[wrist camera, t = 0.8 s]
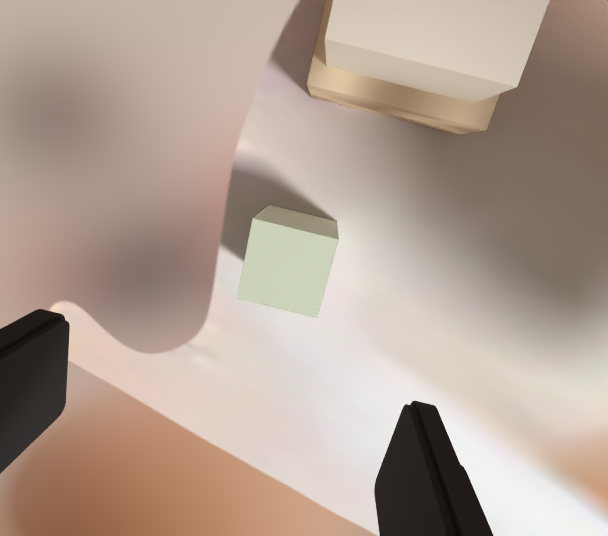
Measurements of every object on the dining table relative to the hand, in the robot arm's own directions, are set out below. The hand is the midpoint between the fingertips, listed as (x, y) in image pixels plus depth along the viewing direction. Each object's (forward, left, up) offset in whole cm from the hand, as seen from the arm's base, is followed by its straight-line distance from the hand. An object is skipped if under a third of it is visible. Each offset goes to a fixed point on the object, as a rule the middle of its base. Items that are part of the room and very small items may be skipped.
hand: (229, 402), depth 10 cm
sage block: (0, 0, -18) cm, 18 cm away
